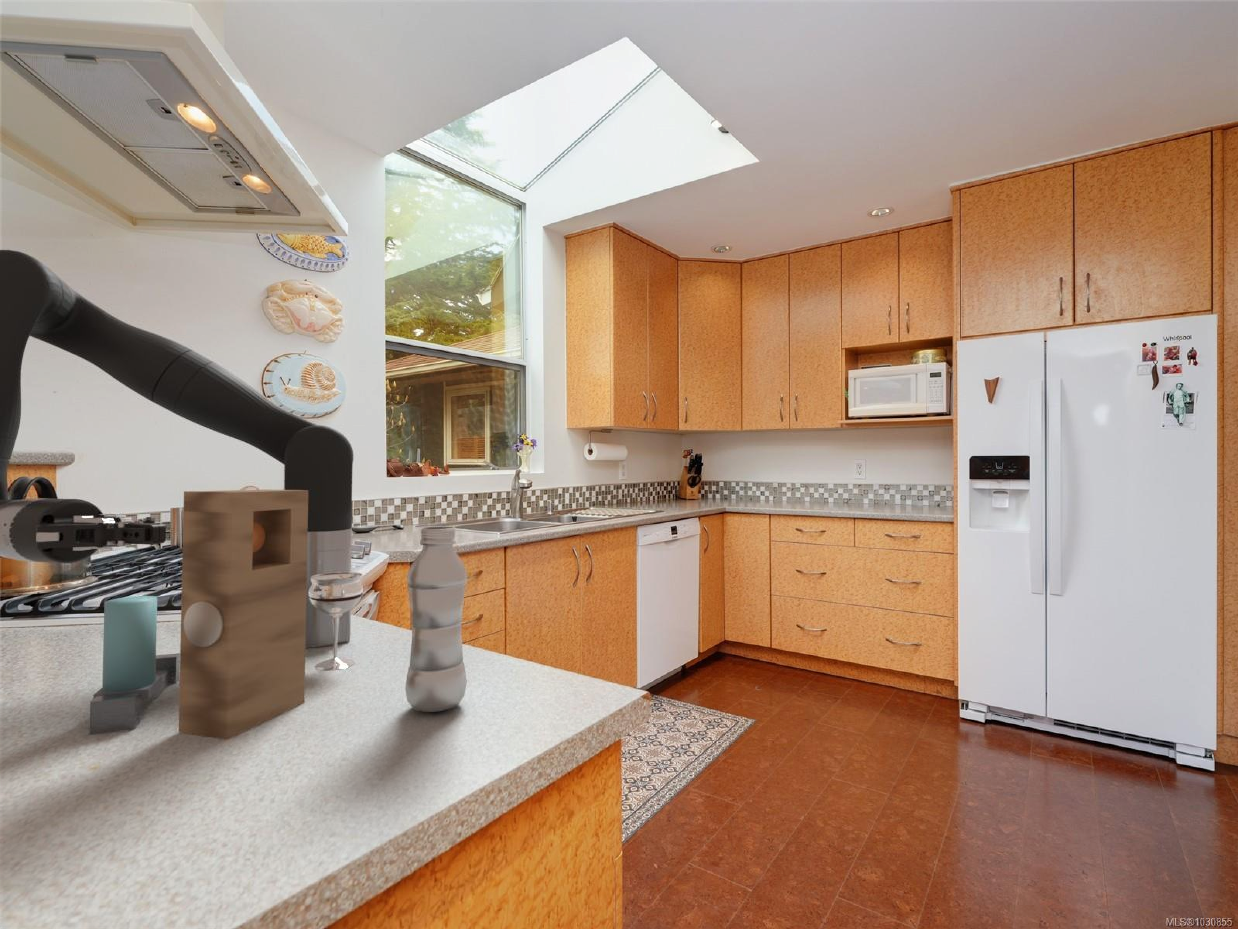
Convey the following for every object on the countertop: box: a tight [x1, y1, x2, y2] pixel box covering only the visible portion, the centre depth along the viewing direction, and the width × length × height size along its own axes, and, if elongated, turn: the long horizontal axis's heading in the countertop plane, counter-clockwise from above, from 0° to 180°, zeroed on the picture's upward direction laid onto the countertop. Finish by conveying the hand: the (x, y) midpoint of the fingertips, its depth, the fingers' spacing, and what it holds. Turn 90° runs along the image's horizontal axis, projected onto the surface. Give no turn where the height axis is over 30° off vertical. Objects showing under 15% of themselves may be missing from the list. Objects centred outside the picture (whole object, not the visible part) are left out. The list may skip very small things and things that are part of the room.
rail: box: [88, 653, 180, 735], centre depth 68 cm, size 4×16×3 cm, turn 23°
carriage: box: [92, 595, 162, 700], centre depth 65 cm, size 5×5×10 cm
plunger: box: [253, 523, 265, 553], centre depth 65 cm, size 7×3×3 cm, turn 76°
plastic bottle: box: [404, 525, 468, 713], centre depth 67 cm, size 6×7×20 cm
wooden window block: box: [178, 489, 308, 740], centre depth 64 cm, size 6×10×24 cm, turn 166°
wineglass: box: [309, 571, 364, 671], centre depth 82 cm, size 7×7×12 cm
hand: (159, 534), depth 68 cm, fingers closed
